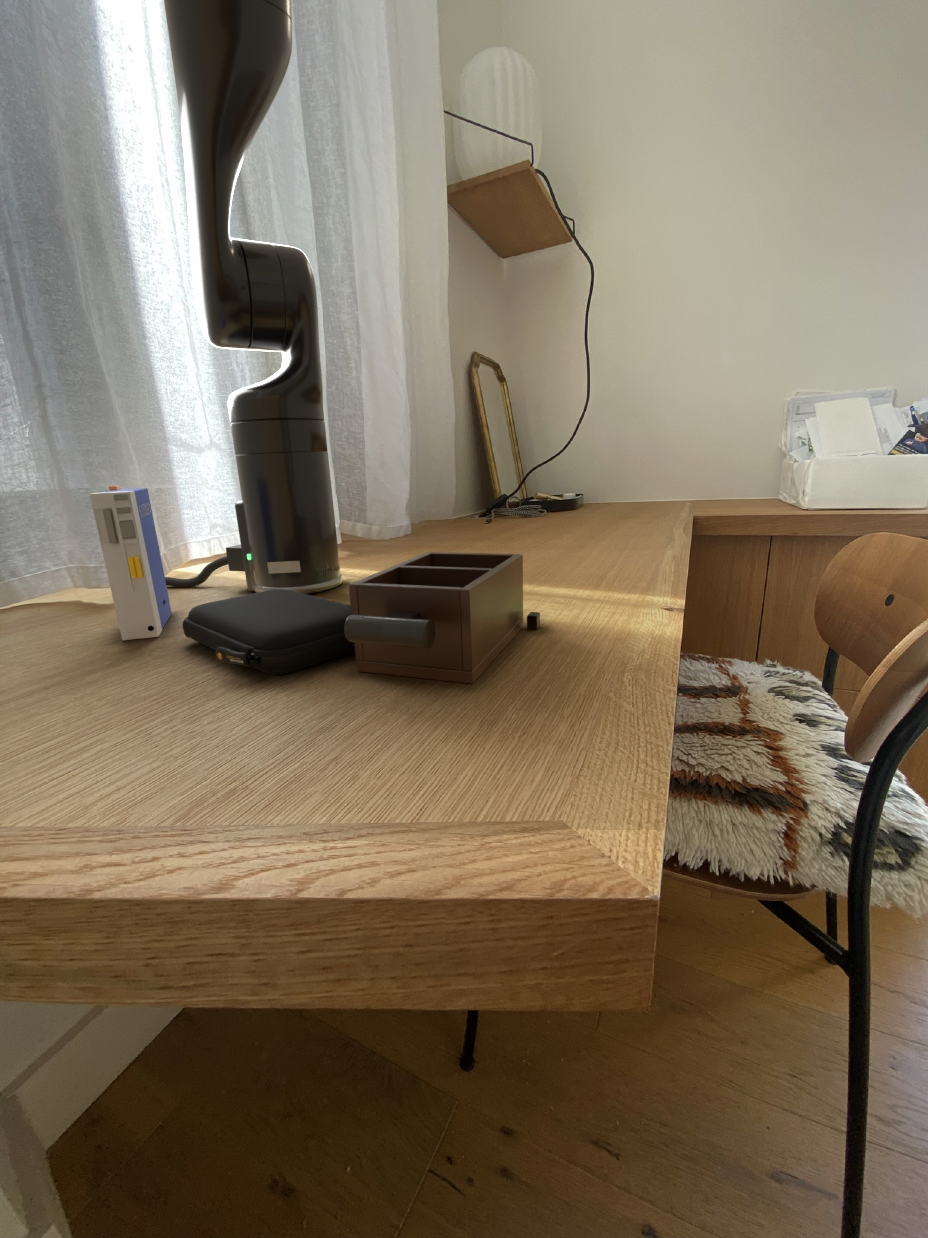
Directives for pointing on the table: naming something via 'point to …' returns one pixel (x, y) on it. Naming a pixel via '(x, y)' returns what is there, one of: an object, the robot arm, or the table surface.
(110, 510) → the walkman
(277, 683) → the table surface
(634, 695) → the table surface
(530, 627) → the dark bar
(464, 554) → the brown box with handle
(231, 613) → the carrying case
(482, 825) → the table surface
